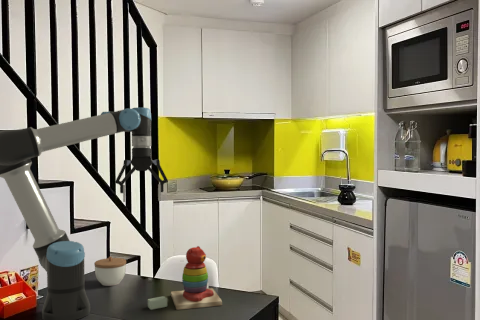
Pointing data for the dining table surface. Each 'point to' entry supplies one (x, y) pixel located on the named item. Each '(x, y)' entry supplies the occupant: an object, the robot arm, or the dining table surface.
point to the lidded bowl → (110, 270)
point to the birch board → (187, 304)
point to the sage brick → (157, 302)
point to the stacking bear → (195, 276)
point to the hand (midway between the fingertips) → (142, 201)
